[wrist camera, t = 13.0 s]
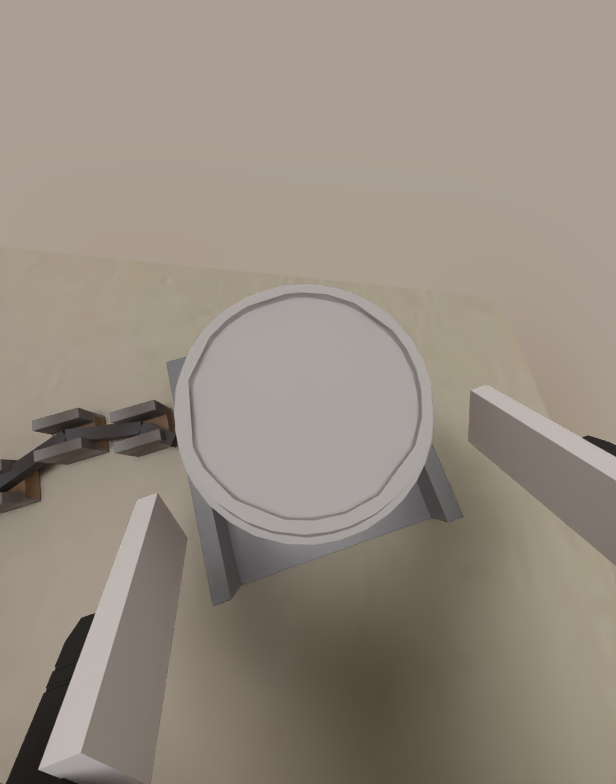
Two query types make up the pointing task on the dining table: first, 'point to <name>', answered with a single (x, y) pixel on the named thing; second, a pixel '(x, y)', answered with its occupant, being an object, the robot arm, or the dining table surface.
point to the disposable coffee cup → (304, 414)
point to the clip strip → (84, 445)
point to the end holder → (265, 557)
